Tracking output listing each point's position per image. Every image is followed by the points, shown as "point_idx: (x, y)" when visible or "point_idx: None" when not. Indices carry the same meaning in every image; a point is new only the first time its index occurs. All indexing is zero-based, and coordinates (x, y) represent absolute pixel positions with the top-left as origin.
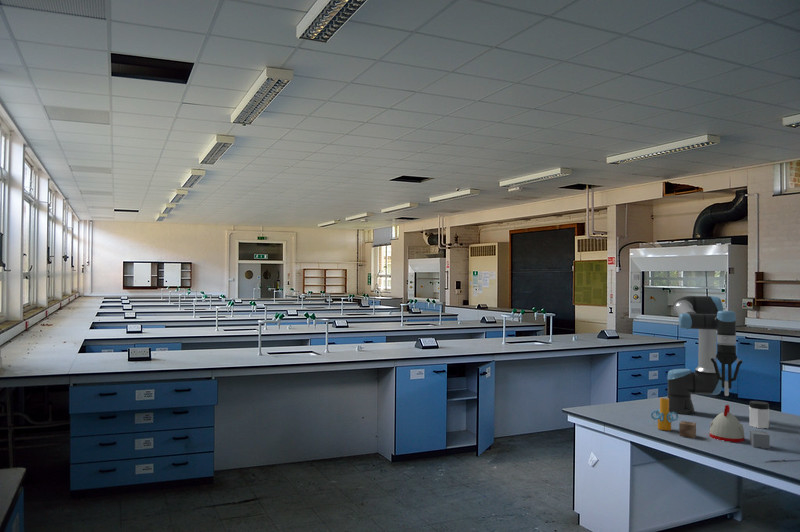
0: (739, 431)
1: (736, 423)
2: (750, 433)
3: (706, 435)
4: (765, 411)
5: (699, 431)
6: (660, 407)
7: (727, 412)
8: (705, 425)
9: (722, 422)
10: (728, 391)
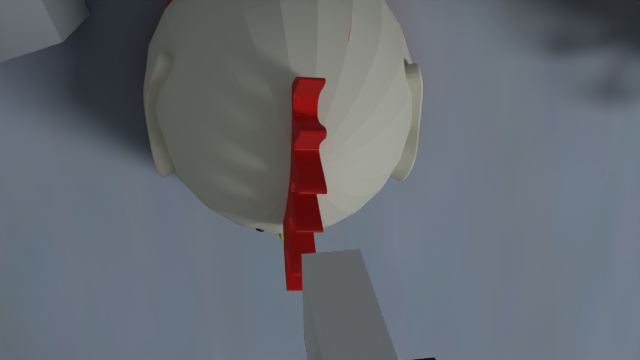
0: (165, 43)
1: (189, 73)
2: (58, 14)
3: (423, 49)
4: None
5: (476, 144)
6: None
7: (290, 158)
8: (444, 339)
9: (318, 18)
10: (311, 340)
